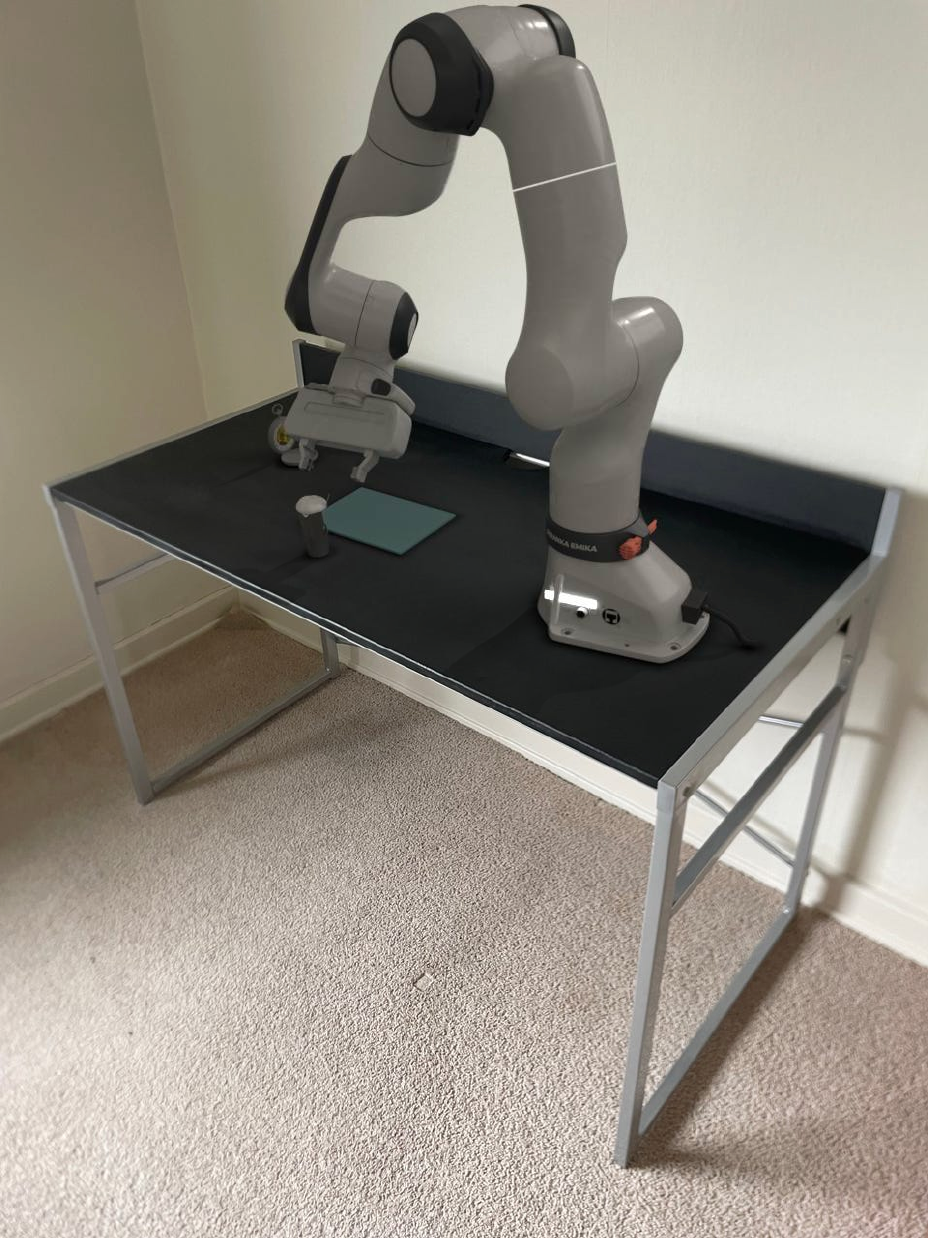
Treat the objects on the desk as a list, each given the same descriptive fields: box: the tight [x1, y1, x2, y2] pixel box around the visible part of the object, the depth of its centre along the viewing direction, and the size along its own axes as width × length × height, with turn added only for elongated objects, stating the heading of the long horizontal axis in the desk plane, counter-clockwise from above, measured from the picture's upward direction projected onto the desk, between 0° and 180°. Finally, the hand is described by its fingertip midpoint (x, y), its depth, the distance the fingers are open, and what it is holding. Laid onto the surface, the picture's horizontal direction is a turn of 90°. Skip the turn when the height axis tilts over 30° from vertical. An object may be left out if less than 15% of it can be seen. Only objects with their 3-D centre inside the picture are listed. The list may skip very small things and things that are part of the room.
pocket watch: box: [267, 403, 319, 467], centre depth 166 cm, size 8×8×10 cm
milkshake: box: [295, 493, 331, 559], centre depth 137 cm, size 4×5×10 cm
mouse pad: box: [327, 486, 457, 556], centre depth 147 cm, size 20×14×1 cm
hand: (330, 475), depth 137 cm, fingers open, 8 cm apart
